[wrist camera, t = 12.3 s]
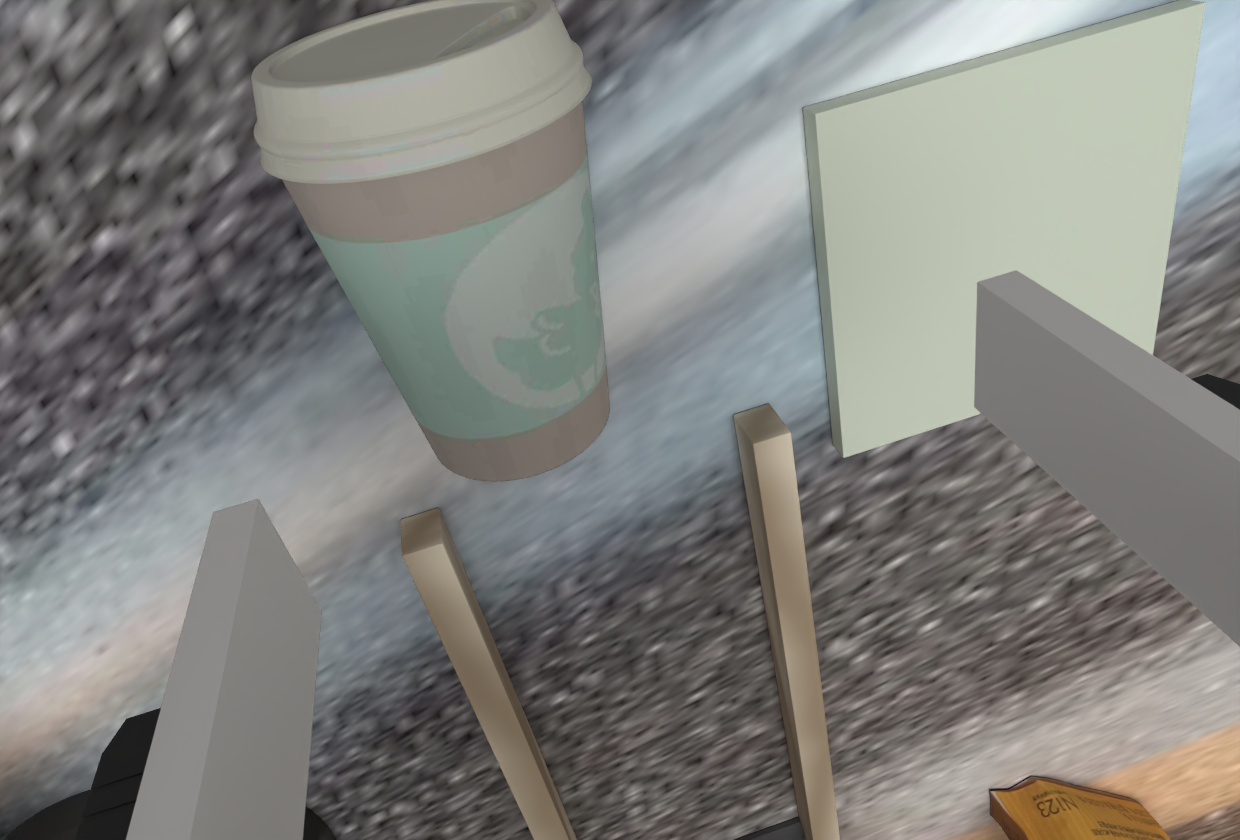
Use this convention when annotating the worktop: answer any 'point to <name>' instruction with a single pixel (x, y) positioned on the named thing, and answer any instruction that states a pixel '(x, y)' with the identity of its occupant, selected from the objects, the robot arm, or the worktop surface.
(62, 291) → the worktop surface
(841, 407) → the pad
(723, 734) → the worktop surface
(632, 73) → the worktop surface
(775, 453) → the channel
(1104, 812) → the pancake mix bag
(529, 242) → the coffee cup
